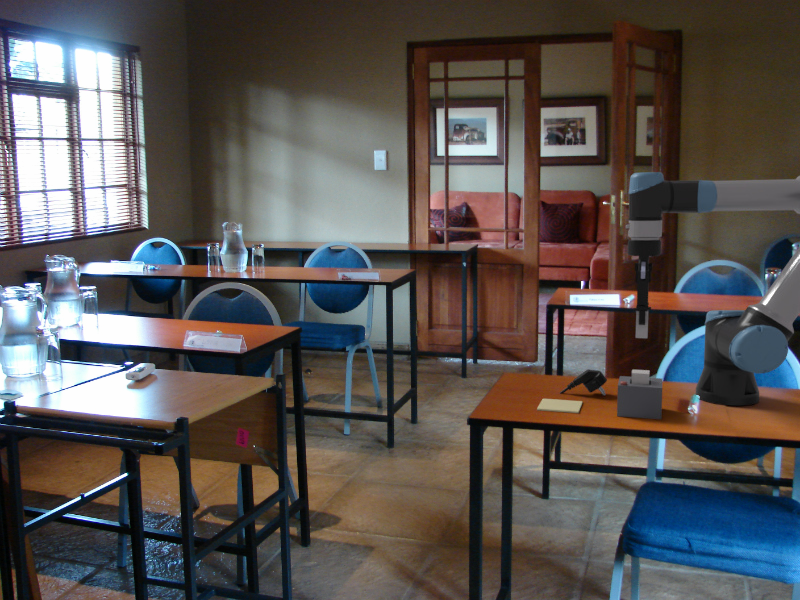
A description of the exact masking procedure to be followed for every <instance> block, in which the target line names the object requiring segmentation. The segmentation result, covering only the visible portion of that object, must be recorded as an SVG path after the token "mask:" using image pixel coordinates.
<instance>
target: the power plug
mask: <svg viewBox="0 0 800 600" xmlns="http://www.w3.org/2000/svg"><path fill="white" fill-rule="evenodd" d="M607 381H608V379H607V378H606V376H605V375H604V374H603V372H602V371H601V370H594V369H586V370H585V371H582V373H580V374H579V375H578V376H576V377H575V378H574V379H572V381H570V383H569V384H567V387H565V388H563V389H562V390H561V391H560V392H559V394H560V395H561V394H564V393H565V392H567V391H568V390H569V391H570V390H572V389H574V388H576V387H578V386H580V385H583V386H584V387H585V388H586V390H587V391H588V392H589V393H593V392H595V391H596V390H598V391H599V392H600V394H601V395H602V396H606V390H605V389H604V388H603V387H602V386H604V385H605V384H606V383H607Z"/></svg>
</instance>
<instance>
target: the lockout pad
mask: <svg viewBox="0 0 800 600" xmlns="http://www.w3.org/2000/svg"><path fill="white" fill-rule="evenodd" d="M582 404H583V400H571V399H570V400H569V399H568V400H567V399H555V398H554V399H553V398H542V400H541V401H540V402H539V404H538V406H537V408H536V411H543V412H555V413H568V414H569V413H571V414H572V413H573V414H579V413H580V410H581V409H582V408H581V407H582Z"/></svg>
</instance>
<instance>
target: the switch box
mask: <svg viewBox="0 0 800 600" xmlns="http://www.w3.org/2000/svg"><path fill="white" fill-rule="evenodd" d="M631 383H632V376H626V375H623V376H622V375H620V376H619V378H618V383H617V397H616V398H617V399H616V400H617V406H616V407H617V408H616V417H623V418H625V417H626V418H636V419H637V418H638V419H639V418H640V419H649V420H662V414H663V413H662V412H663V411H662V408H663V404H662V403H663V378H661V377H660V378H659V377H655V378H654V377H649V385H646V384H631Z"/></svg>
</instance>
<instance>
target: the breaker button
mask: <svg viewBox="0 0 800 600" xmlns="http://www.w3.org/2000/svg"><path fill="white" fill-rule="evenodd" d="M650 372H651V371H650V370H647V369H645V370H644V369H632V370H631V377H632V383H631V384H646V385H649V378H650Z"/></svg>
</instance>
